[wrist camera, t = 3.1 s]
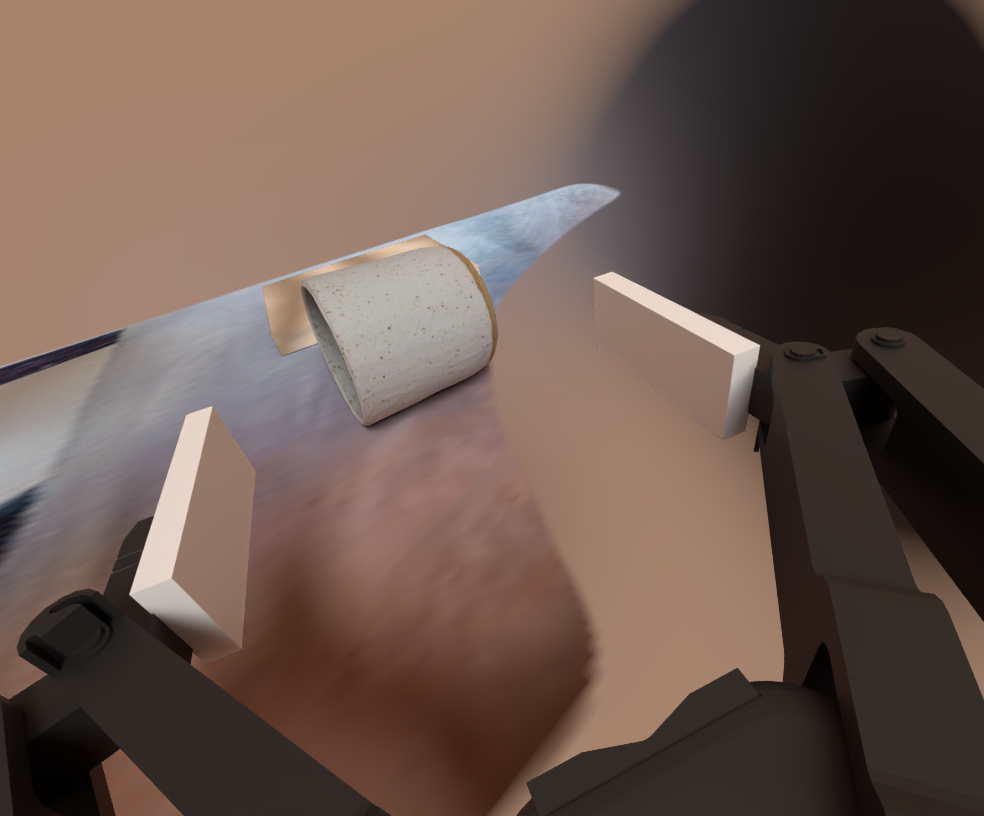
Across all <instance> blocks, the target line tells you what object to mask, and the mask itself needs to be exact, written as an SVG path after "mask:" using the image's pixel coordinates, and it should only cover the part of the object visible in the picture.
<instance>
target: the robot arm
mask: <svg viewBox="0 0 984 816" xmlns="http://www.w3.org/2000/svg"><path fill="white" fill-rule="evenodd" d="M593 280H594V297H595V312H596V329H597V346H598V347H600V348H601V349H603V350H604V351H605V352H606V353H608V354H609V355H611V356H612V357H613V358H614V359H616V360H617V361H618V362H620V363H621V364H622V365H624V366H625V367H626V368H628V369H629V370H630V371H632V372H633V373H634V374H635V375H637V376H638V377H640V378H641V379H642V380H643V381H645V382H646V383H647V384H649V385H650V386H652V387H653V388H654V389H655V390H657V391H658V392H659V393H661V394H662V395H663V396H665V397H666V398H667V399H669V400H670V401H671V402H672V403H674V404H675V405H677V406H678V407H679V408H680V409H682V410H683V411H684V412H686V413H687V414H688V415H690V416H691V417H692V418H694V419H695V420H696V421H698V422H699V423H701V424H702V425H703V426H704V427H706V428H707V429H708V430H709V431H711V432H712V433H714V434H715V435H716V436H717V437H719V438H720V439H721V440H726V439H728V438H730V437H733V436H735V435H737V434H740V433H742V432H744V431H746V425H747V419H748V414H749V413H750V414H751V415H752V416H754V417H756V418H757V419H759V420H760V421H759V426H758V431H757V437H756V442H755V447H754V452H758V451H759V447H760V455H761V463H762V472H763V480H764V488H765V495H766V504H767V512H768V521H769V529H770V538H771V546H772V554H773V563H774V571H775V579H776V587H777V596H778V604H779V612H780V620H781V629H782V637H783V645H784V673H783V682H775V681H755V682H749V681H748V680H747V679H746V678H745V677H744V675H743V674H742V673H741V672H740V670H739V669H738V668H736V669H734V670H733V671H731V672H729V673H727V674H725V675H723V676H722V677H720V678H718V679H716V680H714V681H712V682H711V683H709V684H707V685H705V686H703V687H702V688H700V689H698V690H696V691H694V692H692V693H690V694H689V695H688V696H687V697H686V699H684V701H683V702H682V703H681V704H680V705H679V706H678V707H677V708H676V709H675V710H674V711H673V713H672V714H671V715H670V716H669V717H668V718H667V719H666V720H665V721H664V722H663V724H662V725H661V726H660V727H659V728H658V729H657V730H656V731H655V732H654V733H653V735H652V736H650V737H649V738H648V739H646V740H644V741H640V742H635V743H629V744H624V745H619V746H614V747H609V748H603V749H598V750H592V751H587V752H582V753H580V754H578V755H577V756H575V757H573V758H571V759H569V760H567V761H565V762H564V763H562V764H560V765H558V766H556V767H554V768H553V769H551V770H549V771H547V772H545V773H543V774H542V775H540V776H538V777H536V778H534V779H532V780H530V781H529V782H527V785H528V788H529V791H530V794H531V797H532V799H531V800H530V801H529V802H528V803H527V804H526V805H525V806H524V807H523V808H522V809H521V810H520V811H519V813H518V814H517V816H984V699H983V697H982V694H981V692H980V689H979V687H978V684H977V682H976V679H975V677H974V674H973V672H972V669H971V667H970V664H969V662H968V660H967V657H966V654H965V652H964V650H963V647H962V645H961V642H960V640H959V637H958V635H957V632H956V630H955V627H954V625H953V622H952V620H951V617H950V615H949V613H948V611H947V609H946V607H945V605H944V603H943V602H942V601H941V600H940V599H939V598H938V597H937V596H936V595H935V594H930V593H924V592H920V590H918V588H917V586H916V584H915V581H914V579H913V576H912V573H911V570H910V568H909V565H908V562H907V559H906V557H905V554H904V551H903V548H902V546H901V543H900V540H899V537H898V535H897V532H896V529H895V527H894V524H893V521H892V518H891V515H890V513H889V510H888V507H887V505H886V502H885V499H884V496H883V494H882V491H881V488H880V485H881V486H882V487H883V489H884V490H885V491H886V493H887V494H888V495H889V497H890V498H891V499H892V501H893V502H894V503H895V505H896V506H897V507H898V509H899V510H900V511H901V513H902V514H903V515H904V516H905V518H906V519H907V520H908V522H909V523H910V524H911V526H912V527H913V528H914V530H915V531H916V532H917V534H918V535H919V536H920V538H921V539H922V540H923V542H924V543H925V544H926V546H927V547H928V548H929V550H930V551H931V552H932V554H933V555H934V556H935V558H936V559H937V560H938V562H939V563H940V564H941V566H942V567H943V568H944V569H945V571H946V572H947V574H948V575H949V576H950V577H951V579H952V580H953V581H954V583H955V584H956V586H957V587H958V588H959V590H960V591H961V592H962V594H963V595H964V596H965V597H966V599H967V600H968V601H969V603H970V604H971V605H972V607H973V608H974V609H975V611H976V612H977V614H978V615H979V616H980V617H981V619H982V620H983V621H984V389H983V388H981V387H980V386H979V385H978V384H976V383H975V382H974V381H973V380H971V379H970V378H969V377H967V376H966V375H965V374H964V373H963V372H961V371H960V370H959V369H957V368H956V367H955V366H954V365H952V364H951V363H950V362H949V361H947V360H946V359H945V358H944V357H942V356H941V355H940V354H939V353H937V352H936V351H935V350H933V349H932V348H931V347H929V346H928V345H927V344H926V343H925V342H923V341H922V340H921V339H920V338H918V337H916V336H915V335H913V334H911V333H909V332H905V331H902V330H900V329H895V328H892V329H891V328H886V327H884V328H873V329H868V330H864V331H862V332H860V333H858V335H857V337H856V340H855V344H854V347H853V349H847V350H841V351H835V352H829V351H828V350H827V349H825V348H823V347H822V346H820V345H816V344H812V343H807V342H788V343H784V344H781V345H777V344H775V343H773V342H771V341H769V340H767V339H765V338H763V337H760V336H758V335H756V334H754V333H752V332H750V331H748V330H746V329H745V330H743V328H742V327H740V326H737V325H735V324H733V325H732V323H731V322H729V321H727V320H725V319H723V318H720V317H719V316H714V315H709V314H705V313H699V314H696V313H694V312H692V311H690V310H688V309H686V308H684V307H682V306H680V305H678V304H676V303H674V302H672V301H670V300H668V299H666V298H664V297H662V296H660V295H658V294H656V293H654V292H652V291H650V290H648V289H646V288H644V287H642V286H640V285H638V284H636V283H634V282H632V281H630V280H627V279H626V278H624V277H622V276H620V275H618V274H616V273H614V272H610V273H607V274H604V275H601V276H598V277H595V278H594V279H593ZM896 410H897V411H896ZM255 472H256V471H255V469H254V468H253V466H252V465H251V463H250V462H249V460H248V459H247V457H246V456H245V454H244V453H243V451H242V450H241V448H240V447H239V445H238V444H237V442H236V441H235V439H234V438H233V436H232V435H231V433H230V432H229V430H228V429H227V427H226V426H225V424H224V422H223V421H222V419H221V418H220V416H219V415H218V413H217V412H216V410H215V409H214V407H213V406H211V407H208V408H205V409H202V410H199V411H196V412H193V413H190V414H187V415H186V418H185V421H184V424H183V427H182V430H181V433H180V437H179V440H178V443H177V446H176V449H175V452H174V455H173V459H172V462H171V465H170V468H169V471H168V474H167V477H166V481H165V484H164V487H163V490H162V493H161V496H160V500H159V503H158V506H157V509H156V512H155V515H154V516H152V517H150V518H147V519H144V520H142V521H139V522H137V524H136V525H135V526H134V528H133V529H132V530H131V531H130V533H129V534H128V535H127V536H126V538H125V539H124V541H123V543H122V546H121V549H120V551H119V554H118V560H116V562H115V565H114V568H113V570H112V572H113V574H112V575H111V576H110V578H109V581H108V584H107V587H106V589H105V592H104V595H103V596H102V595H101V594H100V593H99V592H98V591H95V590H91V589H85V590H80V591H75V592H73V593H71V594H69V595H67V596H64V597H62V598H60V599H59V600H57V601H56V602H54V603H53V604H51V605H50V606H48V607H47V608H46V609H44V610H43V611H42V612H41V613H40V614H39V615H38V616H37V617H36V618H35V619H34V620H33V621H31V623H30V624H29V625H28V627H27V628H26V629H25V631H24V632H23V633H22V635H21V637H20V640H19V643H18V645H17V650H18V654H19V656H20V657H22V658H23V659H25V660H26V661H28V662H30V663H31V664H33V665H34V666H36V667H37V668H39V669H40V670H42V671H44V672H45V673H47V674H48V675H46V676H45V677H43V678H42V679H40V680H39V681H37V682H35V683H34V684H32V685H31V686H29V687H28V688H26V689H25V690H23V691H21V692H20V693H18V694H17V695H15V696H14V697H12V698H11V699H9V700H8V699H6V698H5V697H3V696H1V695H0V816H115V812H114V808H113V804H112V801H111V797H110V793H109V790H108V786H107V782H106V778H105V775H104V771H103V767H102V764H101V762H103V761H104V760H105V759H107V758H108V757H109V756H111V755H112V754H113V753H115V752H116V751H117V750H119V749H121V750H122V751H123V752H124V753H125V754H126V755H127V756H128V757H129V758H130V759H131V760H132V761H133V762H134V763H135V765H136V766H137V767H138V768H139V769H140V770H141V771H142V772H143V773H144V774H145V775H146V776H147V777H148V778H149V779H150V780H151V781H152V782H153V784H154V785H155V786H156V787H157V788H158V789H159V790H160V791H161V792H162V793H163V794H164V795H165V796H166V797H167V798H168V799H169V800H170V802H171V803H172V804H173V805H174V806H175V807H176V808H177V809H178V810H179V811H180V812H181V813H182V814H183V815H184V816H391V815H390V814H388V813H387V812H385V811H384V810H382V809H381V808H379V807H377V806H375V805H374V804H372V803H371V802H370V801H368V800H367V799H366V798H364V797H363V796H362V795H360V794H359V793H358V792H356V791H355V790H354V789H352V788H351V787H350V786H349V785H347V784H346V783H345V782H343V781H342V780H341V779H339V778H338V777H337V776H335V775H334V774H333V773H331V772H330V771H329V770H328V769H326V768H325V767H324V766H322V765H321V764H320V763H318V762H317V761H316V760H314V759H313V758H312V757H311V756H309V755H308V754H307V753H305V752H304V751H303V750H301V749H300V748H299V747H297V746H296V745H295V744H294V743H292V742H291V741H290V740H288V739H287V738H286V737H284V736H283V735H282V734H280V733H279V732H278V731H277V730H275V729H274V728H273V727H271V726H270V725H269V724H267V723H266V722H265V721H263V720H262V719H261V718H260V717H258V716H257V715H256V714H254V713H253V712H252V711H250V710H249V709H248V708H246V707H245V706H244V705H243V704H241V703H240V702H239V701H237V700H236V699H235V698H233V697H232V696H231V695H229V694H228V693H227V692H225V691H224V690H223V689H222V688H220V687H219V686H218V685H216V684H215V683H214V682H212V681H211V680H210V679H208V678H207V677H206V676H205V675H203V674H202V673H201V672H199V671H198V670H197V669H195V668H194V667H193V666H191V665H190V664H191V658H192V652H194V653H195V654H196V655H197V656H198V657H199V658H200V659H201V660H203V661H204V662H205V663H206V664H209V663H211V662H213V661H215V660H218V659H220V658H222V657H225V656H227V655H229V654H232V653H234V652H236V651H239V650H241V649H242V639H243V626H244V613H245V600H246V587H247V574H248V562H249V549H250V536H251V523H252V510H253V497H254V484H255ZM879 483H880V485H879Z"/></svg>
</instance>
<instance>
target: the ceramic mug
mask: <svg viewBox="0 0 984 816" xmlns="http://www.w3.org/2000/svg"><path fill="white" fill-rule="evenodd" d="M301 295H302V300H303V303H304V307H305V310H306V313H307V316H308V319H309V322H310V324H311V327H312V330H313V332H314V335H315V337H316V340H317V342H318V344H319V347H320V349H321V351H322V353H323V355H324V357H325V360H326V362H327V364H328V367H329V369H330V371H331V373H332V375H333V377H334V379H335V382H336V383H337V385H338V387H339V389H340V391H341V393H342V395H343V397H344V399H345V401H346V402H347V403H348V405H349V407H350V409H351V411H352V413H353V414H354V415H355V417H356V418H357V419H358V421H359V422H360V423H361V424H363V425H371V424H373V423H375V422H377V421H379V420H381V419H384V418H386V417H388V416H390V415H392V414H394V413H396V412H398V411H400V410H402V409H404V408H406V407H409V406H411V405H413V404H415V403H417V402H419V401H421V400H423V399H425V398H427V397H428V396H430V395H432V394H434V393H436V392H438V391H440V390H442V389H445V388H447V387H449V386H451V385H454V384H456V383H458V382H460V381H462V380H464V379H466V378H468V377H470V376H472V375H473V374H475V373H476V372H478V371H479V370H481V369H482V368H483V367H485V366H486V365H487V364H488V363H489V362H490V361H491V359H492V357H493V355H494V353H495V349H496V343H497V338H498V331H497V321H496V314H495V311H494V307H493V303H492V300H491V297H490V295H489V292H488V290H487V287H486V285H485V283H484V281H483V279H482V278H481V276H480V275H479V273H478V272H477V270H476V268H475V267H474V266H473V265H472V263H471V262H470V261H469V259H467V258H466V257H465V256H464V255H463V254H461V253H460V252H458V251H457V250H455V249H452V248H449V247H427V248H418V249H414V250H411V251H407V252H403V253H400V254H396V255H393V256H390V257H387V258H383V259H379V260H375V261H370V262H366V263H362V264H359V265H355V266H351V267H348V268H344V269H340V270H336V271H332V272H328V273H324V274H320V275H316V276H312V277H308V278H305V279H304V280H303V281H302V283H301Z"/></svg>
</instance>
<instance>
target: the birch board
mask: <svg viewBox="0 0 984 816" xmlns="http://www.w3.org/2000/svg"><path fill="white" fill-rule="evenodd" d="M427 247H446V246H444V245H442V244H441V243H439V242H437V241H435V240H434V239H432V238H430V237H429V236H427V235H422V236H419V237H416V238H412V239H409V240H406V241H403V242H400V243H397V244H394V245H391V246H388V247H384V248H381V249H378V250H375V251H372V252H369V253H366V254H363V255H360V256H356V257H353V258H350V259H347V260H344V261H341V262H338V263H335V264H331V265H328V266H325V267H322V268H319V269H316V270H313V271H310V272H307V273H303V274H300V275H297V276H294V277H291V278H288V279H285V280H282V281H278V282H275V283H272V284H269V285H266V286H263V287H262V288H263V294H264V299H265V304H266V309H267V314H268V319H269V324H270V329H271V334H272V338H273V340H274V342H275V344H276V346H277V348H278V350H279V352H280V354H281V356H284V355H287V354H289V353H292V352H295V351H298V350H300V349H303V348H306V347H309V346H311V345H314V344H317V343H318V342H317V340H316V337H315V335H314V332H313V330H312V327H311V324H310V322H309V319H308V316H307V313H306V310H305V307H304V303H303V300H302V295H301V283H302V281H303V280H304V279H305V278H308V277H312V276H316V275H320V274H324V273H328V272H332V271H336V270H340V269H344V268H348V267H351V266H355V265H359V264H362V263H366V262H370V261H375V260H379V259H383V258H387V257H390V256H393V255H396V254H400V253H403V252H407V251H411V250H414V249H418V248H427ZM469 261H470V260H469ZM470 262H471V261H470ZM471 263H472V265H473V266H474V267H475V268H476V270H477V272H478V273H479V275H480V271H479V267H478V265H476V264H475V263H473V262H471Z"/></svg>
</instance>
